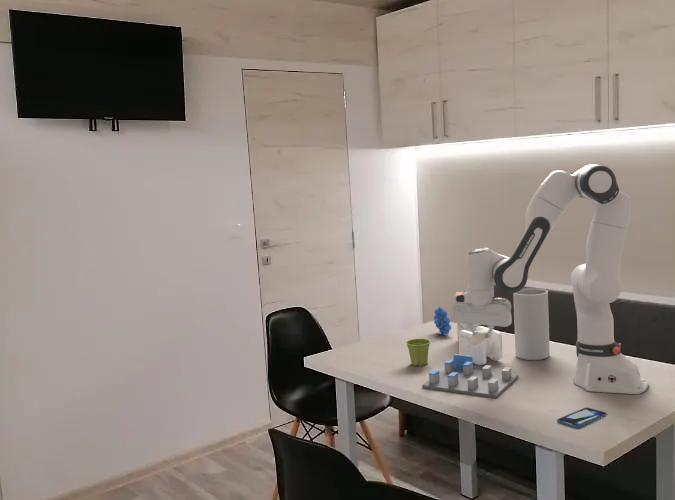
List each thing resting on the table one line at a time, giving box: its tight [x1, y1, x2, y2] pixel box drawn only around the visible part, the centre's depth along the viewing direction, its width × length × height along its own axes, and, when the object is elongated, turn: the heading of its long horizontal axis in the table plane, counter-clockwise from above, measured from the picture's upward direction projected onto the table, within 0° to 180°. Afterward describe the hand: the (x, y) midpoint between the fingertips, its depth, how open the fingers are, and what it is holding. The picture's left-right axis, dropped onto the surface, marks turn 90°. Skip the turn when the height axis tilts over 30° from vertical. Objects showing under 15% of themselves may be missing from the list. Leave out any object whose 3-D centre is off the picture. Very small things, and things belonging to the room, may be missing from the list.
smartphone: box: [556, 407, 608, 429], centre depth 192 cm, size 7×1×15 cm
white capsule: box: [470, 326, 494, 345], centre depth 224 cm, size 16×3×3 cm, turn 147°
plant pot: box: [405, 338, 432, 367], centre depth 254 cm, size 9×9×9 cm
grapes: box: [433, 306, 452, 336], centre depth 293 cm, size 12×7×12 cm, turn 24°
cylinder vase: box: [512, 287, 550, 361], centre depth 253 cm, size 12×12×25 cm
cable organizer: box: [457, 325, 503, 366], centre depth 252 cm, size 15×11×12 cm
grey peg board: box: [421, 353, 519, 399], centre depth 229 cm, size 26×22×6 cm
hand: (481, 337), depth 224 cm, fingers closed on white capsule, 3 cm apart
